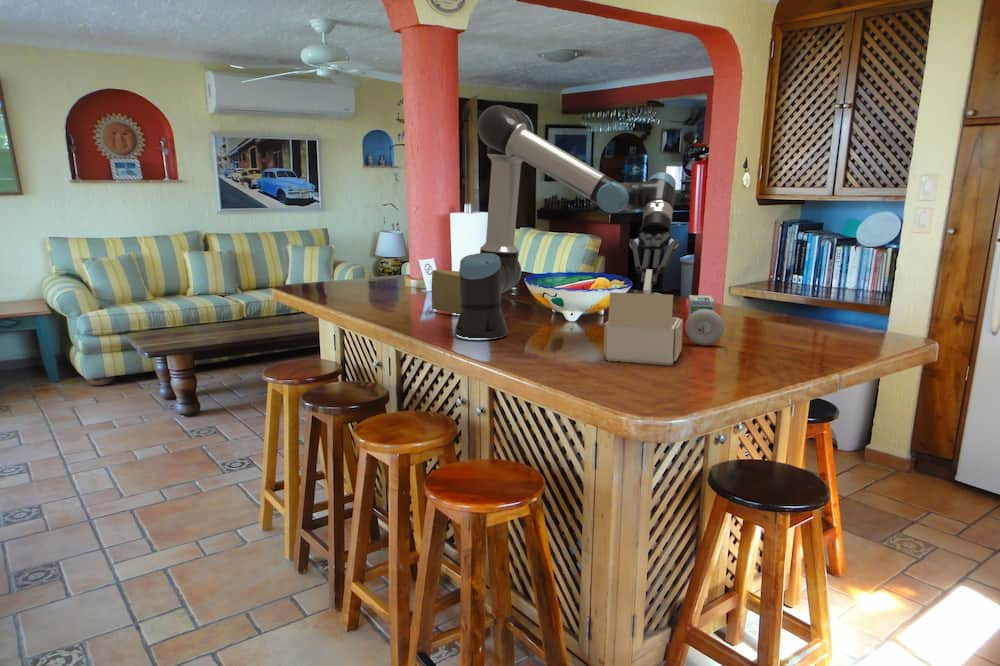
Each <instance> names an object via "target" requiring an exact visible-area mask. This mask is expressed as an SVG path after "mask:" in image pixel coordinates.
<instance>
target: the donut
mask: <svg viewBox="0 0 1000 666" xmlns="http://www.w3.org/2000/svg"><path fill="white" fill-rule="evenodd" d="M688 316H689V315H688ZM703 321H706V322H708V323H710V325H711V330H710V331H709V332H708V333H702V332H700V331H699V329H698V325H699V324H700V323H701V322H703ZM724 323H725V322H724V320H723V319H722V317H721V316H720V314H718V312H716V311H715V312H714V311H712V310H709V309H700V310H697V311H695V312H693V313H692V314H691V315H690V316H689V317H687V319H686V321H685V333H686V335H687V337H688V338H689V339H690V340H691V341H692V343H695V344H696V345H699V346H703V347H704V346H711V345H713V344H715V343H717V342H718V341H719V340H720V339H721V337H722V336H723V335H724V330H725V324H724Z"/></svg>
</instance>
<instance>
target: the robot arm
mask: <svg viewBox="0 0 1000 666" xmlns="http://www.w3.org/2000/svg"><path fill="white" fill-rule="evenodd" d="M477 133H478V136H479V138H480V140H481V141H482V142H483V144H485V145H486V146H487V157H488V158H489V159H490V161H491V167H490V184H489V193H488V194H489V195H488V198H489V200H488V208H487V209H488V210H487V224H486V235H485V236H486V237H485V239H486V240H485V242H484V243H483V245H482V246H481V247H480V248H479V249H480V250H479V253H474V254H468V255H466V256H464V257H462V258H461V259H460V262H459V270H458V271H459V273H460V295H461V312H460V315H459V316H458V318H457V322H456V325H455V329H454V330H455V335H456V334H457V335H459V336H462V337H468V338H495V337H501V336H504V335H506V334H507V335H508V326H507V323H506V320H505V316H504V314H503V312H502V311H503V310H502V294H503V293H507V292H509V291H511V290H512V289H513V288H514V287H516V285H517V284H518V283H519V281H520V279H521V277H522V266H521V262H520V261H519V253H520V252H519V249H518V248H517V247H516V245H515V239H516V237H515V236H516V229H517V228H516V227H517V217H518V215H517V213H518V203H519V202H518V201H519V191H520V181H521V180H520V179H521V177H520V176H521V166H522V163H523V162H525V163H527V164H529V165H530V166H532V167H533V168H535V169H537V170H538V171H540V172H542V173H543V174H545V175H547V176H549V177H550V178H552V179H553V180H556V181H557V182H559V183H561V184H562V185H563V186H566V187H568V188H570V189H571V190H573V191H575V192H576V193H577V194H580V195H581V196H583V197H585V198H586V199H588V200H589V201H591V202H593V203H594V204H596V205H598V207H599V208H600V209H601V210H602V211H604V212H606V213H609V214H617V213H620V212H625V211H638V210H639V211H640V210H642V211H643V210H644V211H643V217H642V221H641V222H642V223H641V229H640V233H639V234H638V236H637V238H635V239H633V238H629V240H628V244H629V248H630V250H631V251H632V253H633V254H632V255H633V259H634V266H635V272H636V274H641V275H640V276H641V277H640V283H641V285H643V289H642V290H643V294H652V287H653V285H656V284H657V283H658V275H659V274H666V272H667V270H668V267H669V265H670V263H671V261H672V258H673V256H674V254H675V252H676V251H677V250H678V249H679V247H680V244H679V242H680V241H679V239H677V238H674V239H673V238H672V236H671V229H672V221H673V213H674V204H675V197H676V184H677V183H676V179H675V177H673V176H672V175H671V174H670V173H667V172H664V171H663V172H656V173H655V174H652V175H651V176H650V177H649V179H648V181H640V182H618V181H616V180H615V179H613V178H611V177H610V176H607V175H606V174H604V173H603V172H601V171H599V170H598V169H595V168H594V167H593V166H591V165H589V164H587V163H585V162H584V161H583V160H580V159H579V158H577V157H575V156H573V155H572V154H570V153H568V152H566V151H565V150H563V149H561V147H558V146H556V145H554V144H553V143H552V142H549V141H548V140H546V139H544V138H542V137H541V136H539V135H537V134H536V133H534V126H533V122H532V120H531V119H530V118H529V116H528V115H527V114H525V112H523V111H522V110H521V109H520V110H519V109H518V108H513V107H512V108H511V107H508V106H505V105H501V104H500V105H499V104H498V105H492V106H489V107H488V108H486V109H485V110H483V112H482V113H481V114H480V116H479V118H478V121H477ZM640 245H641V247H642V248H643V249H644V253H643V260H642V265H641V263H640V262H641V261H640V255H639V251H638V248H639V246H640ZM667 246H668V247H667ZM665 247H667V249H666V252H665V254H664V255H663V259H662V260H661V255H662V251H663V250H664V249H665ZM652 252H654V253H653V262H652V266H651V267H652V269H650V267H649V266H650V260H651V254H652ZM660 261H661V263H660Z"/></svg>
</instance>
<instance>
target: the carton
mask: <svg viewBox="0 0 1000 666" xmlns="http://www.w3.org/2000/svg"><path fill="white" fill-rule="evenodd" d="M683 321H684V319H683V318H680V317H675V316H672V326H671V329H665V328H648V327H630V326H612V325H608V320H607V321H606V322H605V323H603V324H604V329H603V330H604V331H603V333H604V334H603V341H604V342H603V357H604V356H605V360H608V361H607V362H617V361H620V362H621V363H631V362H633V364H646V365H648V364H649V365H659V366H673V364H674V363H675V362H677V360H678V358H679V356H680V353H681V352H682V349H683V348H682V345H683V326H684V325H683V324H684V323H683Z"/></svg>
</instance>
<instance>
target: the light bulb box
mask: <svg viewBox="0 0 1000 666" xmlns="http://www.w3.org/2000/svg"><path fill="white" fill-rule="evenodd" d="M700 309H709V310H712V311H714V312H716V301H715V299H714V298H713V295H699V294H698V295H697V294H696V295H695V294H689V295H688V317H689V316H690V315H691V314H692V313H693V312H695V311H697V310H700ZM688 317H687V318H688ZM698 329H699V331H700V332H702V333H708V332H709V331H710V330H711V325H710V323H708V322H706V321H703V322H701V323H700V324H699V325H698Z"/></svg>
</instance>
